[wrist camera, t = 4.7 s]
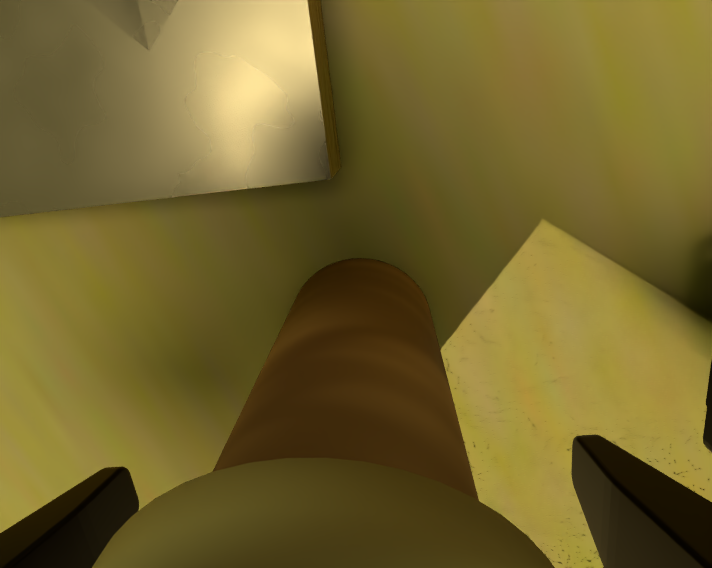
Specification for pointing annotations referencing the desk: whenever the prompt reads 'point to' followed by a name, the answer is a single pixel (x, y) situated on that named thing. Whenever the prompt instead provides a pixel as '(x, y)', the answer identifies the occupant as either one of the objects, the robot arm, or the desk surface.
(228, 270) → the desk surface
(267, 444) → the walnut peg
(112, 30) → the keyhole plate
